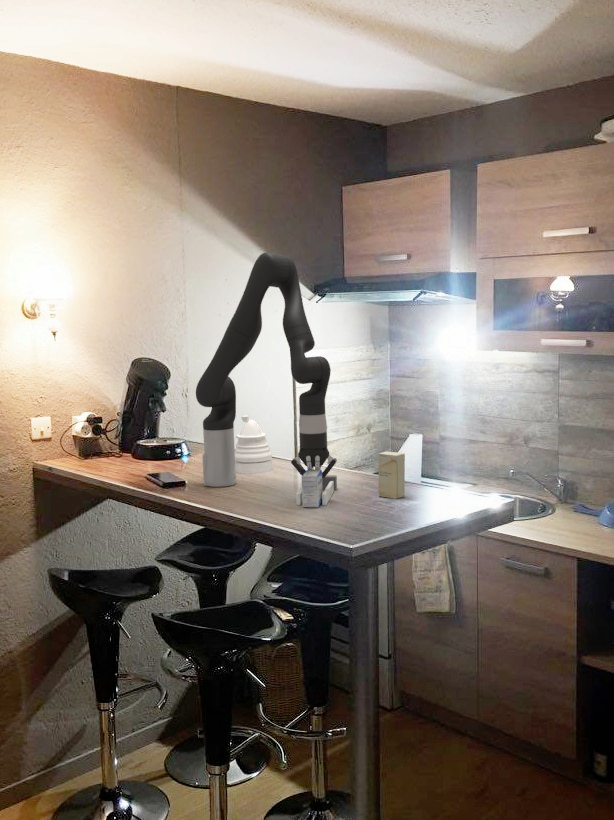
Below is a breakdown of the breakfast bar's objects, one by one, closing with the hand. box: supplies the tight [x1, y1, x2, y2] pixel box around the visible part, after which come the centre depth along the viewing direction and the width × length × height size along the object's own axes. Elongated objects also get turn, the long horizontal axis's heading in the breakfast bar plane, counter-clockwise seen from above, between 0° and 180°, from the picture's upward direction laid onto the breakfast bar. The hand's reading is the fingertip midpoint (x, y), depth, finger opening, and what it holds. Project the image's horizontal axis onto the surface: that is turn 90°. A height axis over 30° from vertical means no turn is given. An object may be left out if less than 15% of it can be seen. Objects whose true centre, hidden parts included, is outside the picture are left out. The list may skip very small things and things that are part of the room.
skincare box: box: [378, 451, 406, 500], centre depth 232 cm, size 6×4×12 cm
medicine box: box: [301, 469, 324, 508], centre depth 226 cm, size 8×4×9 cm, turn 170°
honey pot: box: [235, 415, 274, 475], centre depth 278 cm, size 13×13×18 cm
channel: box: [296, 474, 338, 506], centre depth 236 cm, size 9×20×4 cm, turn 171°
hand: (315, 492), depth 231 cm, fingers closed
